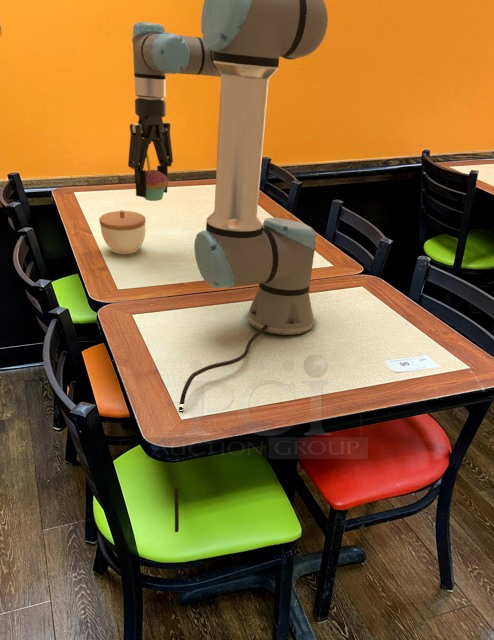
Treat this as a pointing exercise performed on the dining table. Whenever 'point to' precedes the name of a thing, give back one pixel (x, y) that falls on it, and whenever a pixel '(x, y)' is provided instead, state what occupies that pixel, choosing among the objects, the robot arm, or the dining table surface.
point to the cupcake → (155, 183)
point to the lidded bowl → (123, 231)
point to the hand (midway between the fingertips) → (152, 193)
